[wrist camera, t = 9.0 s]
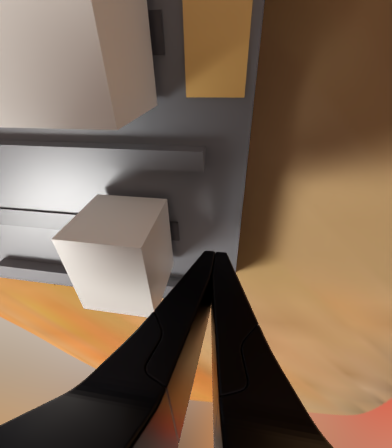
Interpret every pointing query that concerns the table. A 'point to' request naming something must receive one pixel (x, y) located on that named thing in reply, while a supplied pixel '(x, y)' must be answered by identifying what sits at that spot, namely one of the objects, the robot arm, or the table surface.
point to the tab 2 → (118, 253)
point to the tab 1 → (75, 63)
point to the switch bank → (147, 147)
